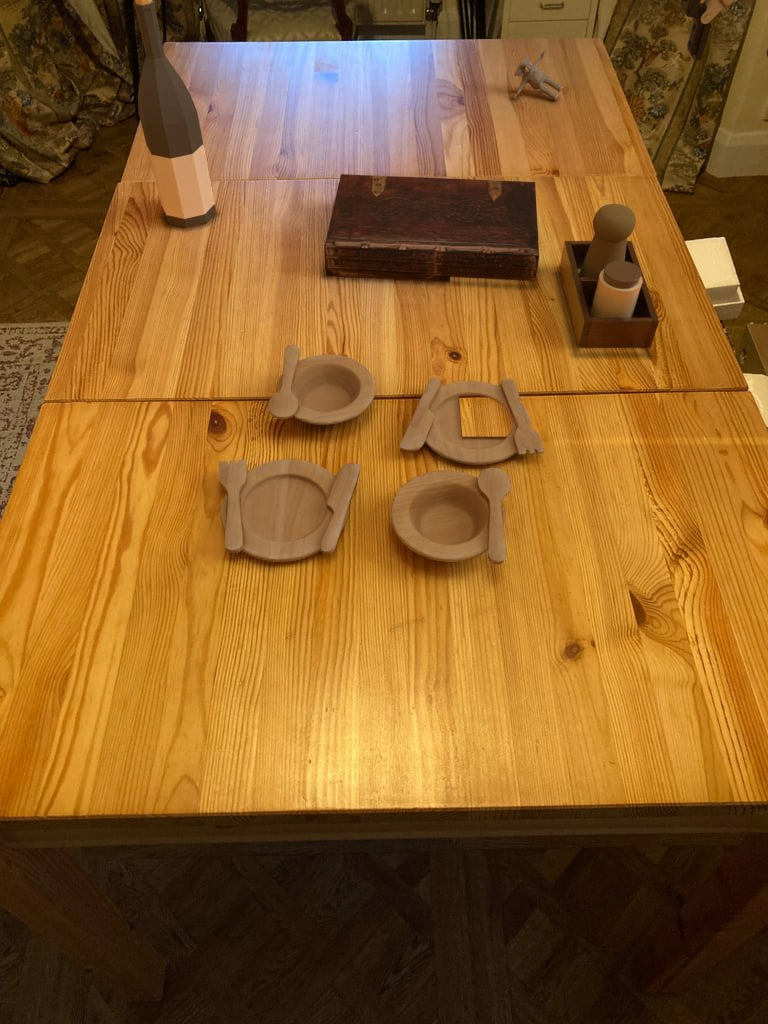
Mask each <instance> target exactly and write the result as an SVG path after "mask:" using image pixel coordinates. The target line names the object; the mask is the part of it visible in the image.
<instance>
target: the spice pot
mask: <svg viewBox="0 0 768 1024" xmlns="http://www.w3.org/2000/svg"><path fill="white" fill-rule="evenodd" d="M641 270H642V269H641ZM641 270H640V269H639V267H637V266H636V265H635V264H633V263H630V262H627V261H613V262H610V263H608V264H607V265H606V266H605V269H603V270H602V271H601V273H600V275H599V279H598V283H597V287H596V291H595V295H594V299H593V303H592V307H591V311H590V315H589V316H590V318H632V315H633V312H634V309H635V306H636V302H637V299H638V296H639V292H640V289H641V286H642V282H643V280H642V277H641Z"/></svg>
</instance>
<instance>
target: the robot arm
mask: <svg viewBox="0 0 768 1024" xmlns="http://www.w3.org/2000/svg"><path fill="white" fill-rule="evenodd" d="M734 1H735V0H680V8H681V9H682V10H683V12H684V13H685V16H686V17H688V18H692V19H693V23H692V26H691V30H690V34H689V38H688V41H687V44H686V45H687V51H688V52H689V54H690V57H691V59H692V61H694V62H695V61H696V62H697V61H699V62H700V61H702V60H703V56H704V52H705V49H706V45H707V42H708V40H709V37H710V36H709V35H710V32H711V29H712V23H711V21H712V20H713V19H714V18H715V17H716V16H717V15H718V14H719V13H720V12H721V11H722V10H724V9H725V8H727V7H729V6H730V5H731V4H732V3H733V2H734ZM766 57H768V48H767V50H766Z"/></svg>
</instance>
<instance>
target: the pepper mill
mask: <svg viewBox="0 0 768 1024" xmlns="http://www.w3.org/2000/svg"><path fill="white" fill-rule="evenodd" d="M636 223H637V219H636V215H635V212H634V211H633V210H632V209H631V208H630V207H629V206H626V205H624V204H620V203H608V204H605V205H602V206H601V207H600V208H599V209H598V210H597V211H596V213H595V214H594V217H593V220H592V227H593V228H592V230H593V232H594V233H593V237H592V238H591V241H592V242H591V244H590V247H589V249H588V252H587V255H586V257H585V260H584V262H583V265H582V268H581V270H580V273H579V277H599V275H600V273H601V271H602V270H603V269H605V266H606V265H607V264H608V263H610V262H613V261H625V252H626V244H627V241H628V238H630V237H631V235H632V234H633V232H634V230H635V228H636Z"/></svg>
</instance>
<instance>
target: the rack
mask: <svg viewBox="0 0 768 1024" xmlns="http://www.w3.org/2000/svg"><path fill="white" fill-rule="evenodd" d="M591 242H592V240H564V242H563V246H562V252H561V258H560V262H559V271H560V276H561V279H562V284H563V288H564V292H565V297H566V301H567V306H568V310H569V314H570V318H571V322H572V327H573V331H574V335H575V340H576V344H577V348H579V349H582V348H584V349H651V347H652V345H653V342H654V339H655V335H656V332H657V329H658V326H659V323H660V320H659V316H658V313H657V312H656V308H655V305H654V303H653V299H652V297H651V294H650V293H651V292H650V291H649V287H648V285H647V282H646V279H645V275H644V272H643V270H642V267H641V264H640V262H639V259H638V256H637V253H636V249H635V247H634V244H633V241H632V240H627V244H626V252H625V261H627V262H630V263H633V264H635V265H636V266H637V267H639V269H640V270H641V277H642V280H643V282H642V286H641V289H640V292H639V296H638V299H637V302H636V306H635V309H634V312H633V315H632V318H590V316H589V315H590V311H591V307H592V303H593V299H594V295H595V291H596V287H597V283H598V279H599V277H579V273H580V270H581V268H582V265H583V262H584V260H585V257H586V255H587V252H588V249H589V247H590V244H591Z"/></svg>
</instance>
